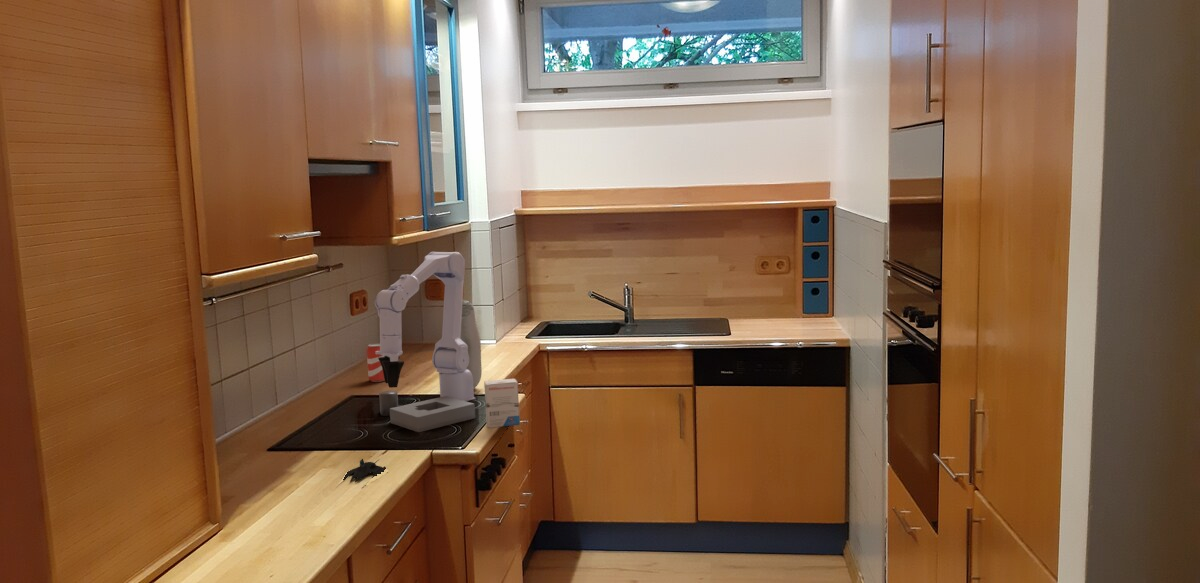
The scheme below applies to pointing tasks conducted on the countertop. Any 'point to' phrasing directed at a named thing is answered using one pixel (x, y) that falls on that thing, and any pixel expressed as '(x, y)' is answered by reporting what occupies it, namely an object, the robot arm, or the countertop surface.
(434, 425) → the foam packaging insert
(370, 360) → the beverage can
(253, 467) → the countertop surface
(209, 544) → the countertop surface
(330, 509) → the countertop surface
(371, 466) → the angular spaceship
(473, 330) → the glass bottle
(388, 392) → the dark grey rounded piece
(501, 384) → the ink box
